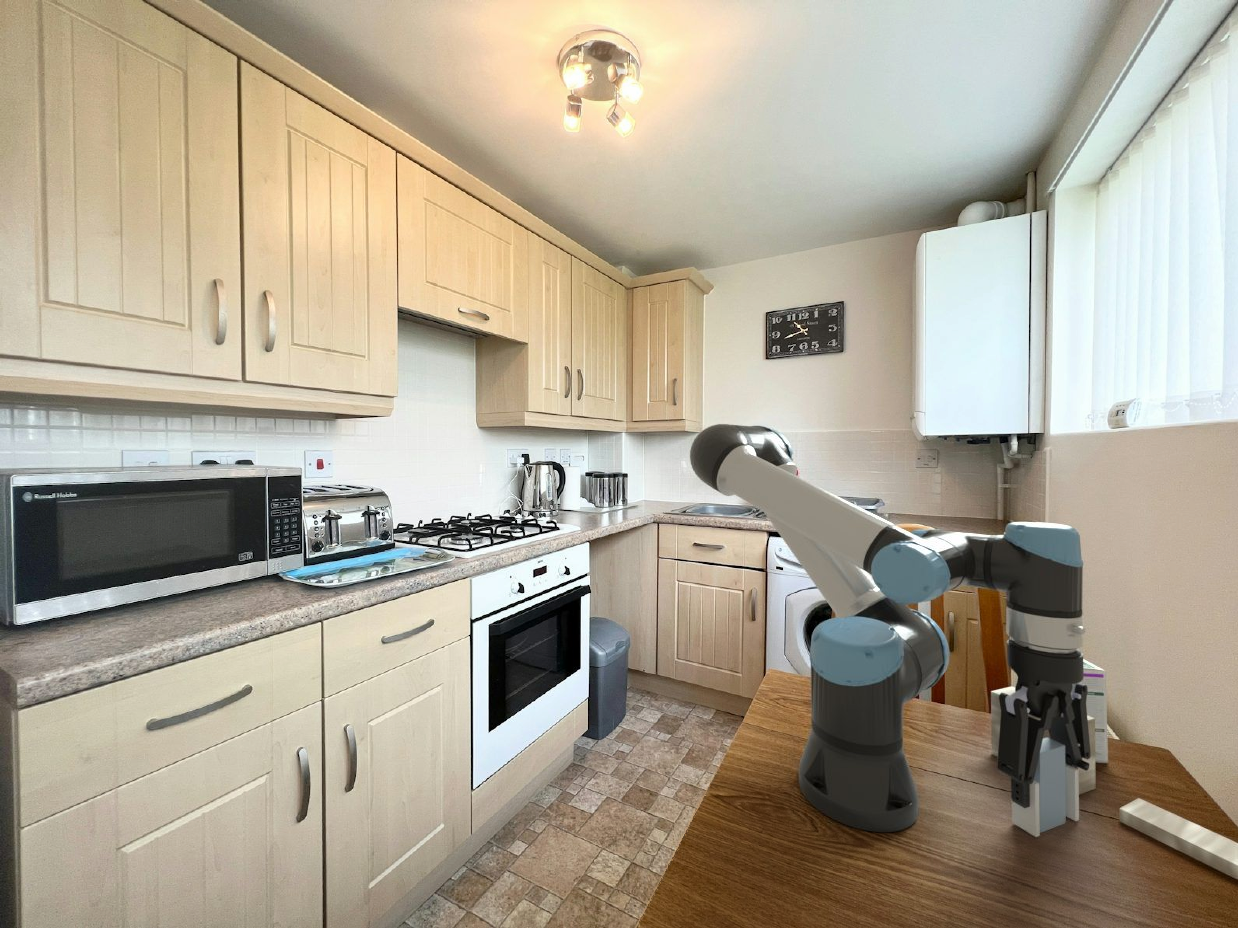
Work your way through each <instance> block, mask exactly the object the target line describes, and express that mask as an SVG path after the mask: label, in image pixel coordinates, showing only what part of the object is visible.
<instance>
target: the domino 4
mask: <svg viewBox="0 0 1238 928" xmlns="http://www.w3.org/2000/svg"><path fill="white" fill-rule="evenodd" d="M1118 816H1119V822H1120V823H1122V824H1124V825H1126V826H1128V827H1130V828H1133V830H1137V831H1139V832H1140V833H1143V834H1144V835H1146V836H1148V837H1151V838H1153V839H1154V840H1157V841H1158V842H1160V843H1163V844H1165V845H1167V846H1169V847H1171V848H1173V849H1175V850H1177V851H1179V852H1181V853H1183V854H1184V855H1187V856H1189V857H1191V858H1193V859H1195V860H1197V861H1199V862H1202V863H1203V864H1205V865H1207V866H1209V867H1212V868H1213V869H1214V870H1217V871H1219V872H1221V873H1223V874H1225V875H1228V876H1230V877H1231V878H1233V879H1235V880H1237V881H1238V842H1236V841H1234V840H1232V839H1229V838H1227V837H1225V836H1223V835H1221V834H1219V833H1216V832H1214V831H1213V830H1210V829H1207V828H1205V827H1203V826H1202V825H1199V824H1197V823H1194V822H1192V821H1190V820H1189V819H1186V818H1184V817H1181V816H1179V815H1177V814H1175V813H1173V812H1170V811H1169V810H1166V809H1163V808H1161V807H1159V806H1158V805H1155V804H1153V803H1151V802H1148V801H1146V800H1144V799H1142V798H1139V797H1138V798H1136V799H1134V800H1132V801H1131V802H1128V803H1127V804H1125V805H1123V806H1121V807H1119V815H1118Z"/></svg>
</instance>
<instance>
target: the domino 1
mask: <svg viewBox="0 0 1238 928" xmlns="http://www.w3.org/2000/svg"><path fill="white" fill-rule="evenodd" d="M1015 687H1016V686H1007V687H1003V688H999V689H995V690H991V691H990V719H991V720H990V722H991V723H990V726H991V728H990V729H991V731H990V733H991V737H990V738H991V745H990V746H991V748H990V750H991V755H993V756H995V757H996V758H998V749H999V735H1000V721H1001V708H1000V702H999V695H1000V694H1001V693H1002V692H1003V693H1005V694H1008V695H1011V694H1013V693H1015Z"/></svg>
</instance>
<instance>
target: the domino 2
mask: <svg viewBox="0 0 1238 928" xmlns="http://www.w3.org/2000/svg"><path fill="white" fill-rule="evenodd" d="M1034 781H1036V782H1038V783H1039V811H1040V834H1041V833H1044V832H1047V831H1048V830H1051V829H1054V828H1056V827H1059V826H1061V825H1064V824H1066V823H1067V822H1066V818H1067V816H1066V799H1065V745H1063V744H1061V743H1059V742H1056V741H1054V740H1052V739H1050V738H1044V739H1043V740H1042V745H1041V750H1040V754H1039V759H1038V763H1037V768H1036V772H1035V777H1034Z"/></svg>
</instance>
